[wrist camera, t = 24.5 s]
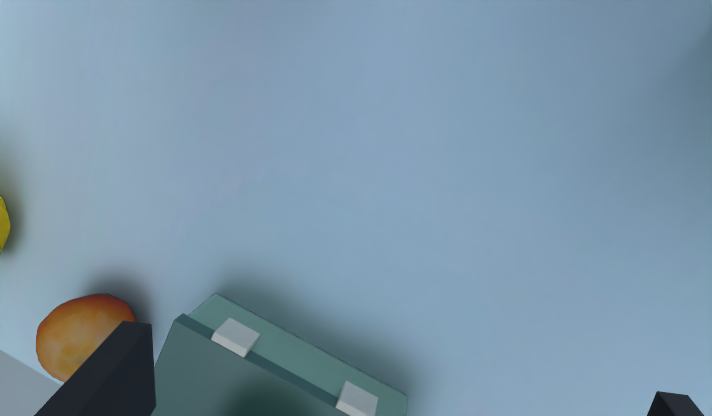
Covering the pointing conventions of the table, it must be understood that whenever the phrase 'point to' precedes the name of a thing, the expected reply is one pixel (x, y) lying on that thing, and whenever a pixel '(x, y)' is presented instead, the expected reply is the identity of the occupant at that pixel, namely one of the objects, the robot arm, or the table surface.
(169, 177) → the table surface
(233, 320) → the lunchbox
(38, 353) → the fruit
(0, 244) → the duckling
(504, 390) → the table surface
